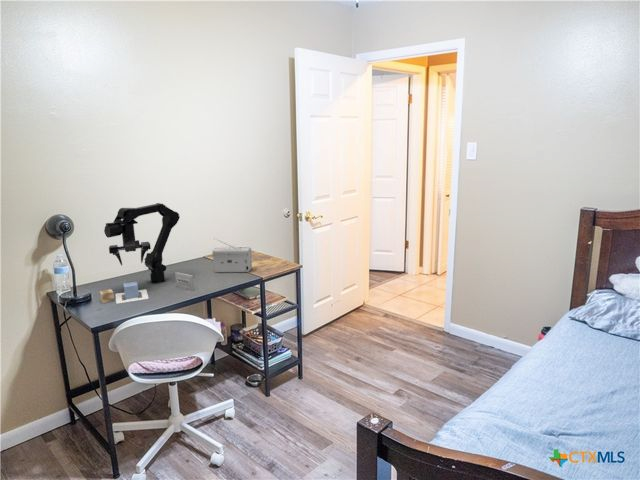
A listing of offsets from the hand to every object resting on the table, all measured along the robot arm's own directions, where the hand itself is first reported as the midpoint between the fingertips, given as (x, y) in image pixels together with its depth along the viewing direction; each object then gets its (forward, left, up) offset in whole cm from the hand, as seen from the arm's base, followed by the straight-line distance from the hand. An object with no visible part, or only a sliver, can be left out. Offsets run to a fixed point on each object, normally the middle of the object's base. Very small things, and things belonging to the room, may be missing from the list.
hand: (131, 264), depth 222 cm
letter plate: (+2, +12, -13) cm, 18 cm away
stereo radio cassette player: (-52, -6, -13) cm, 54 cm away
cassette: (-23, +11, -13) cm, 29 cm away
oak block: (+13, +13, -13) cm, 22 cm away
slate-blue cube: (+2, +12, -12) cm, 17 cm away
